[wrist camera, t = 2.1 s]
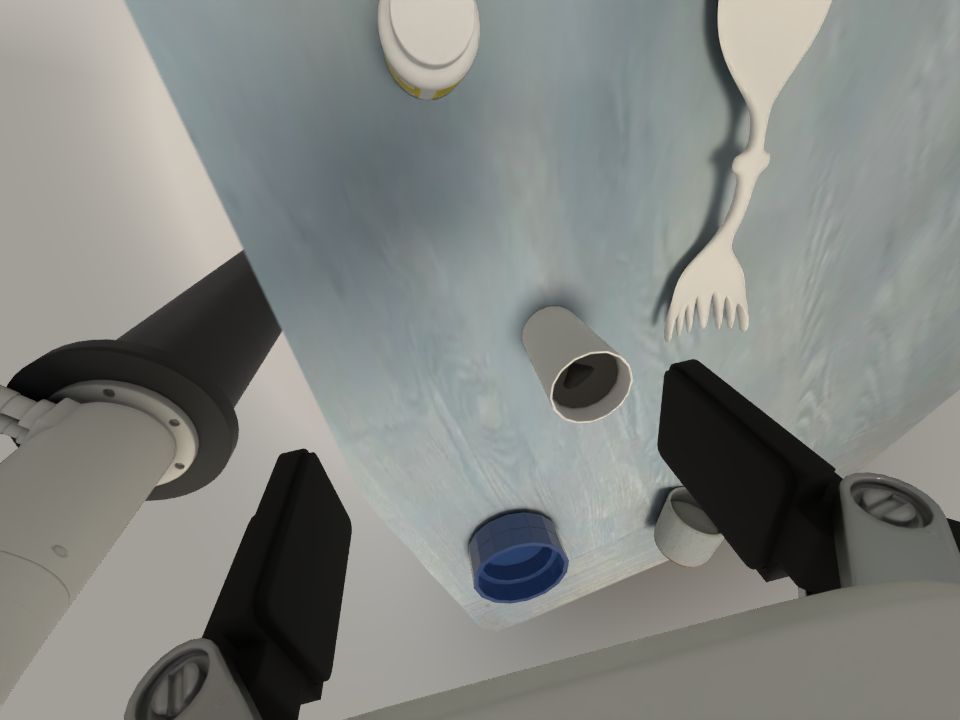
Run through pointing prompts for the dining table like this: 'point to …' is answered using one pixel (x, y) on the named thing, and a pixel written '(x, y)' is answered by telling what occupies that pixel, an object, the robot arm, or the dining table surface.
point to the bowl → (517, 558)
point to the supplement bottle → (428, 43)
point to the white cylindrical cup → (575, 366)
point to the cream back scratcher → (760, 77)
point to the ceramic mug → (685, 530)
